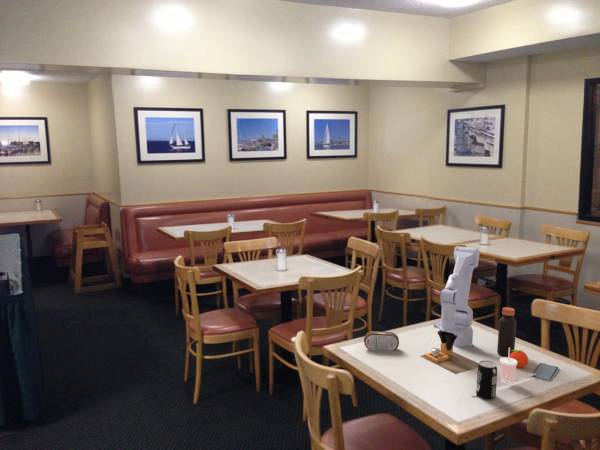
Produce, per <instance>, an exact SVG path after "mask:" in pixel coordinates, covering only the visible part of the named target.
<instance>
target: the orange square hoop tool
mask: <svg viewBox="0 0 600 450" xmlns="http://www.w3.org/2000/svg"><path fill="white" fill-rule="evenodd" d="M440 351H441V352H439V353H438V355H439V356H441V357H440V358H435V357H433V356H432V352H431V351H430V352H426V353H424V354H423V355H424V357H426V358H428V359H430V360H432V361H434V362H436V363H437V362H440V361H444V360H447V359H449V355H452V354H453V352H454V346H452V349H451V350H447V342H446V343H440Z"/></svg>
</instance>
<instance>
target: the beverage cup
mask: <svg viewBox="0 0 600 450" xmlns="http://www.w3.org/2000/svg"><path fill="white" fill-rule="evenodd" d="M509 357H510V347H509V352H508V357H504V356H502V357H501V358H499V363H500V382H501V383H502V384H504V387H505V386H506V387H512V386H514V383H515V378H516V369H517V367H516V365H517V360H515V359H513V358H509Z"/></svg>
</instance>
